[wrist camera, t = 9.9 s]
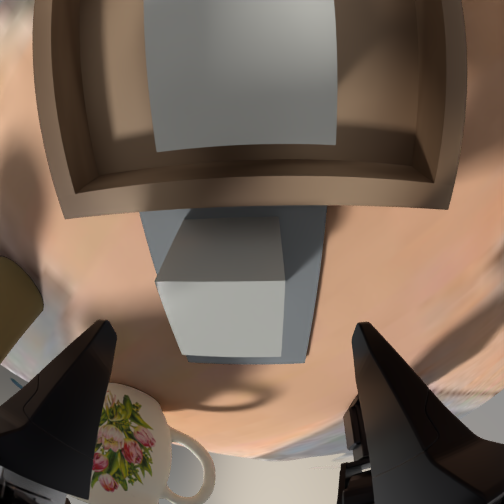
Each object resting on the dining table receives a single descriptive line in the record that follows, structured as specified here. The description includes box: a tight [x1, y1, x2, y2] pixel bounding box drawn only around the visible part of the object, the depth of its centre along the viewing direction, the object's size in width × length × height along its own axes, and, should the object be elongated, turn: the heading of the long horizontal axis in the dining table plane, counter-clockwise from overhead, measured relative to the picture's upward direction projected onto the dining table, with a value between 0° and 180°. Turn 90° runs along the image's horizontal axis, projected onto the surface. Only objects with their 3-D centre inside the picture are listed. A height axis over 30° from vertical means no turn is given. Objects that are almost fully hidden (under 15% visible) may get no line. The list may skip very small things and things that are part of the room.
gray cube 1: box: [144, 0, 337, 152], centre depth 6 cm, size 4×4×4 cm
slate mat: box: [139, 205, 327, 364], centre depth 14 cm, size 8×12×1 cm, turn 2°
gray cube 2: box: [155, 217, 285, 357], centre depth 11 cm, size 4×4×4 cm
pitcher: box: [67, 383, 215, 504], centre depth 19 cm, size 11×18×14 cm, turn 71°
